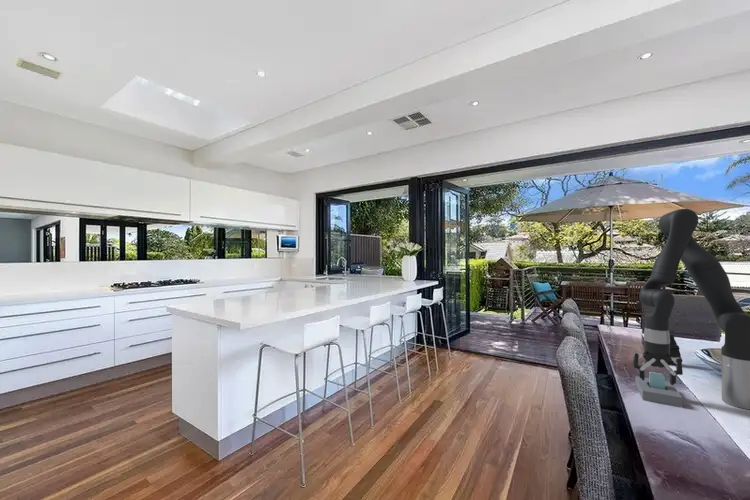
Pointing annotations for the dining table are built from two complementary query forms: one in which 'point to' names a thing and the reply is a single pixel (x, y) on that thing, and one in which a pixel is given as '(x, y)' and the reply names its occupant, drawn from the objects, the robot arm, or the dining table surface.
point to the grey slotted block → (658, 393)
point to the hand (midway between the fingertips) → (657, 381)
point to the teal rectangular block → (656, 380)
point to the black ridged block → (674, 350)
